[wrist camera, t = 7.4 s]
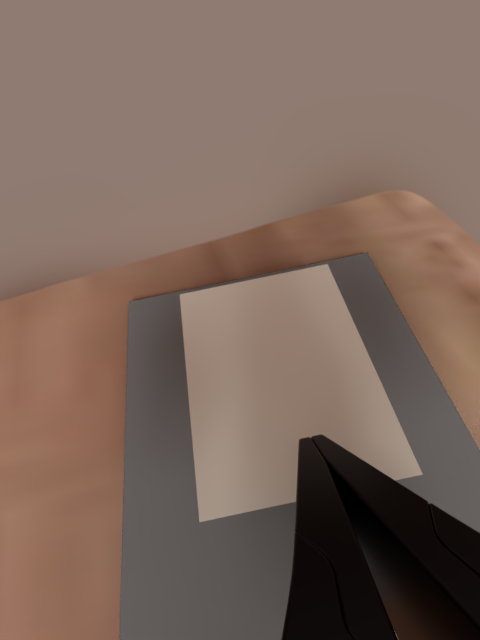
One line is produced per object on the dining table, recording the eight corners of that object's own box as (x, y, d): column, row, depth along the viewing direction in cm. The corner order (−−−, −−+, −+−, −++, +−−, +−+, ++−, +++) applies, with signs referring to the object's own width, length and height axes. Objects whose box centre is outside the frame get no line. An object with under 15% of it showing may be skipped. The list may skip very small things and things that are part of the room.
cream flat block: (423, 474, 10) (327, 263, 16) (199, 522, 10) (179, 294, 16) (390, 467, 13) (318, 289, 19) (212, 504, 13) (191, 315, 18)
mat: (544, 580, 11) (556, 586, 11) (124, 671, 11) (118, 681, 11) (365, 256, 20) (367, 252, 20) (131, 304, 20) (128, 301, 20)
